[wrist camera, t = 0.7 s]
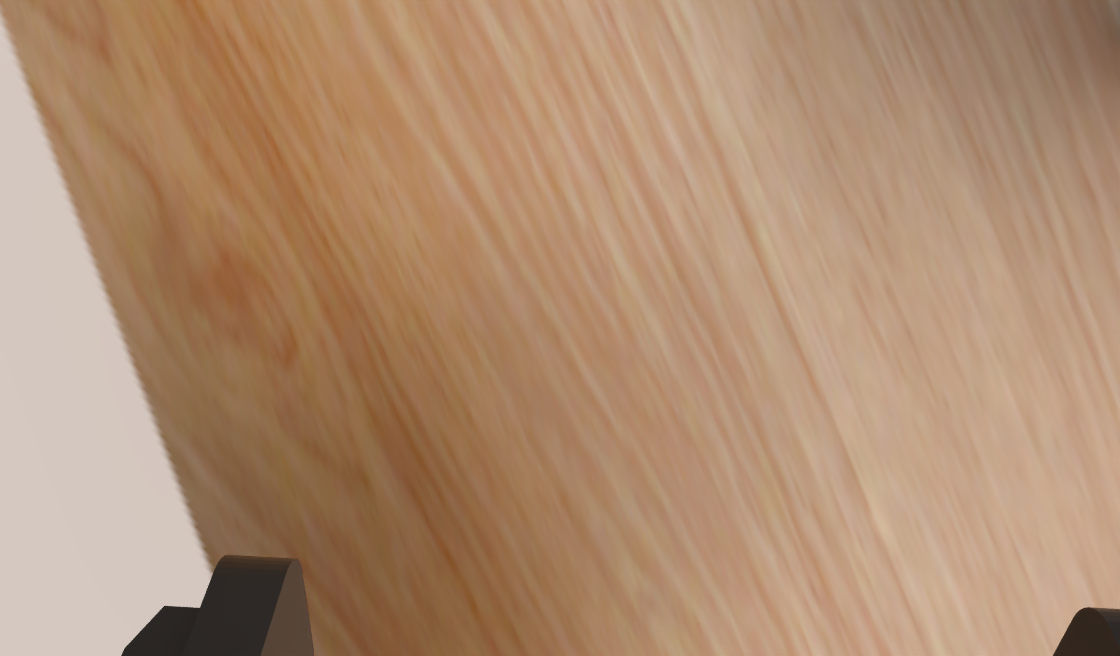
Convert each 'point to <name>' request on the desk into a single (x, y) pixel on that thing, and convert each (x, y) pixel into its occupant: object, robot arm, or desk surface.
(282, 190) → the desk surface
